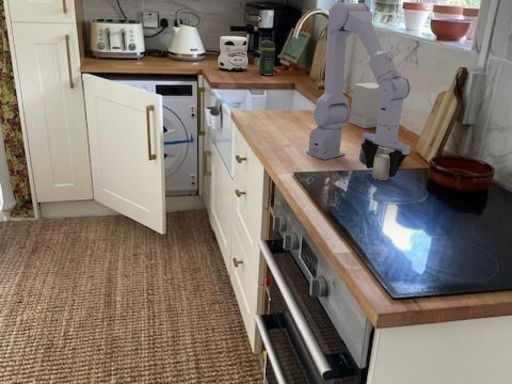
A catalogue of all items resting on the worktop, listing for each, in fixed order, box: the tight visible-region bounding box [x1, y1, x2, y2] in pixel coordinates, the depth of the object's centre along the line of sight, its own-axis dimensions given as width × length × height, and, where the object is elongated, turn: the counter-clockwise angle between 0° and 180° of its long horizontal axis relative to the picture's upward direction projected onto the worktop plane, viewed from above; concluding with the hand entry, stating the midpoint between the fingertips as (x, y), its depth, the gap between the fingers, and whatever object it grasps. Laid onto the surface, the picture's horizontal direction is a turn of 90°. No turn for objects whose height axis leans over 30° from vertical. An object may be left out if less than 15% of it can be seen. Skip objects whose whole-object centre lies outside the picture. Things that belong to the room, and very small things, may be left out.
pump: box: [371, 154, 390, 181], centre depth 135 cm, size 6×4×6 cm
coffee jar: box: [258, 39, 276, 75], centre depth 272 cm, size 10×8×19 cm
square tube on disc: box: [358, 141, 395, 165], centre depth 147 cm, size 12×12×6 cm
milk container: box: [217, 35, 249, 71], centre depth 282 cm, size 17×17×18 cm
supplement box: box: [349, 82, 380, 129], centre depth 184 cm, size 9×9×15 cm
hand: (380, 171), depth 135 cm, fingers open, 7 cm apart
